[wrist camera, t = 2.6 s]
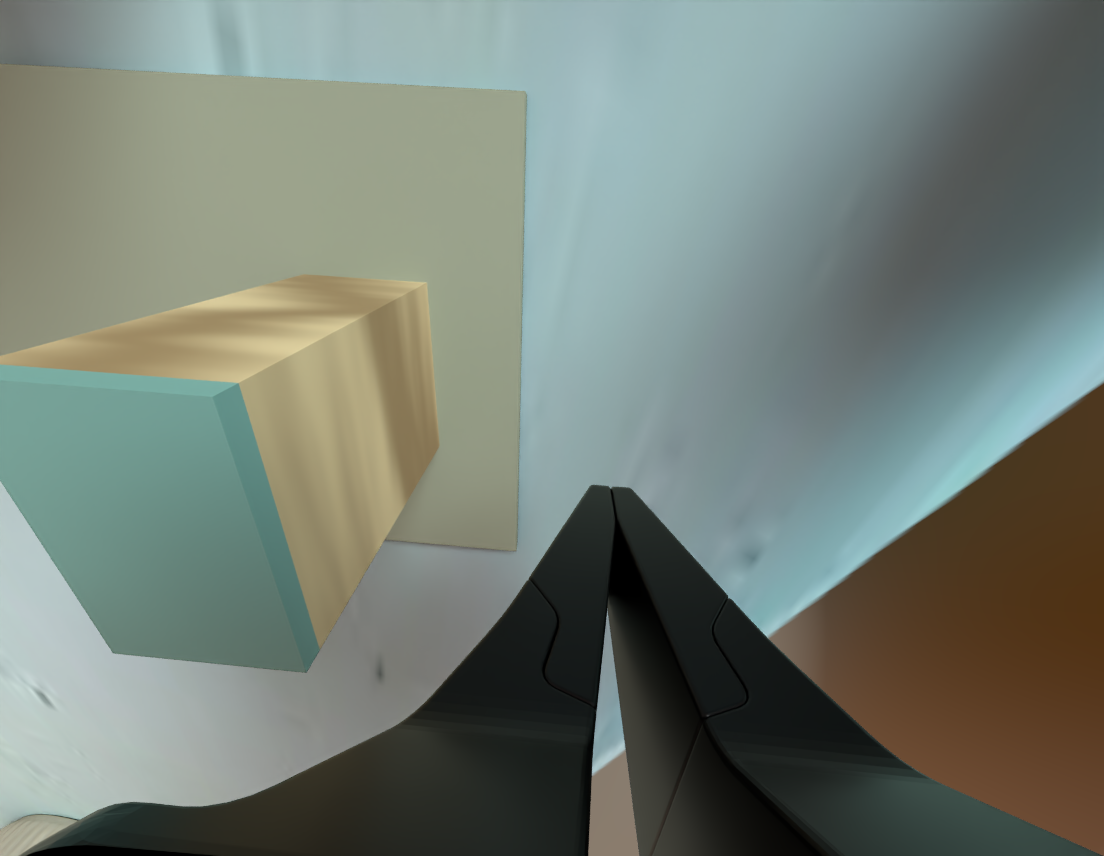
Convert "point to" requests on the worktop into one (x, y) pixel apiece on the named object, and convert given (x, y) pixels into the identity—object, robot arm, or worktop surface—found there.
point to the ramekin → (30, 832)
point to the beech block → (225, 462)
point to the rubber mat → (282, 230)
